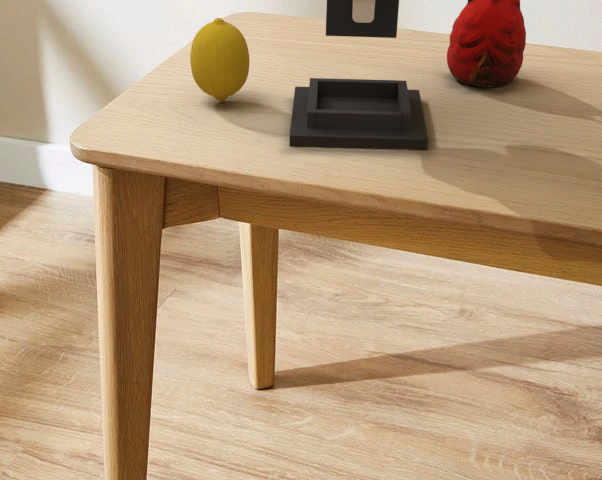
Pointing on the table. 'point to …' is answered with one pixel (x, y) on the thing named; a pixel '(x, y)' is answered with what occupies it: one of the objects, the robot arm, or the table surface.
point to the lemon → (219, 59)
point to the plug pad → (343, 24)
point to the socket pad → (358, 115)
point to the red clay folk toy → (487, 43)
